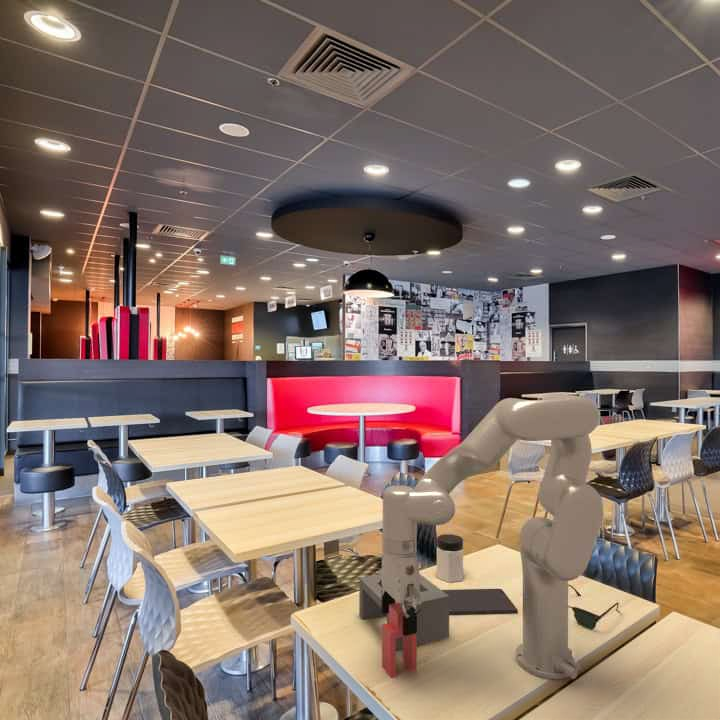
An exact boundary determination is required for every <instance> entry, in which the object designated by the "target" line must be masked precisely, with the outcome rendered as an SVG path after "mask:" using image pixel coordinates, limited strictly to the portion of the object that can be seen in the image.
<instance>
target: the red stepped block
mask: <svg viewBox="0 0 720 720" xmlns="http://www.w3.org/2000/svg"><path fill="white" fill-rule="evenodd" d="M408 610H409V609H408ZM403 616H404V612H403V608H402V605H401V604H400V603H395V604H390V605H389V623H387V622H386V623H382V626H381V628H382V629H381V652H382V653H381V667H382V669H383V670H384V671H385V672H386V674H387V675H388V676H389V677H390V678H393V677H396V661H397V660H396V659H397V657H396V652H397V651H396V638H398V637H402V636H403V649H402V662H403V663H404V665H406V667H407V668H408V669H409V670H410V671H411V672H414V671H417V666H418V664H417V663H418V662H417V660H418V658H417V656H418V654H417V650H418V648H417V647H418V646H417V633H415V634H411V635H407V636H404V635H403V634H402V621H403Z"/></svg>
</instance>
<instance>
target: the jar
mask: <svg viewBox="0 0 720 720" xmlns="http://www.w3.org/2000/svg"><path fill="white" fill-rule="evenodd" d="M436 546H437V547H436V578H437V579H439V580H441V581H444V582H447V583H456V582H463V579H464V578H463V577H464V538H462V537H461V536H459V535H456V534H450V533H449V534H440V535H438V536H437V537H436Z"/></svg>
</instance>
